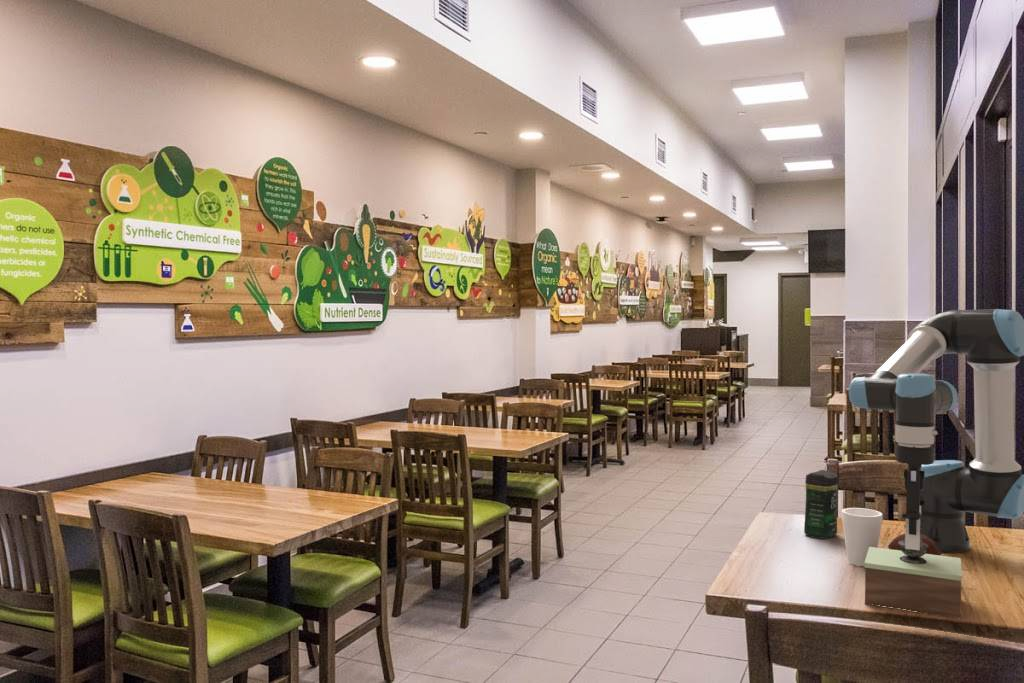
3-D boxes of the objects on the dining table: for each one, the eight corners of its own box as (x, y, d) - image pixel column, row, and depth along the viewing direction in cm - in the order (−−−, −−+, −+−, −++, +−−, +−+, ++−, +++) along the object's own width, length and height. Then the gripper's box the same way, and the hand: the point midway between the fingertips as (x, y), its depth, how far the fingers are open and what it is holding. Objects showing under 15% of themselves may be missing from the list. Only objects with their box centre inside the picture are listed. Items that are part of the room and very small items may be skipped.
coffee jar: (828, 541, 218) (829, 475, 218) (800, 535, 224) (801, 471, 223) (841, 534, 225) (842, 470, 225) (814, 529, 231) (814, 466, 230)
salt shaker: (927, 566, 167) (927, 510, 167) (896, 561, 170) (897, 507, 170) (929, 559, 172) (930, 505, 172) (899, 554, 175) (900, 501, 175)
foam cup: (885, 570, 193) (886, 517, 193) (846, 567, 195) (846, 515, 194) (876, 558, 202) (876, 508, 202) (838, 556, 204) (838, 507, 204)
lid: (962, 583, 161) (962, 576, 160) (864, 570, 169) (864, 562, 169) (960, 564, 174) (960, 556, 174) (869, 552, 183) (869, 545, 183)
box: (960, 619, 161) (961, 580, 161) (864, 604, 169) (865, 567, 169) (959, 598, 173) (959, 562, 173) (869, 585, 182) (870, 551, 181)
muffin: (916, 586, 181) (917, 543, 181) (877, 572, 191) (877, 531, 191) (952, 579, 186) (952, 538, 185) (911, 566, 196) (912, 527, 196)
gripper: (933, 454, 158) (932, 558, 158) (934, 438, 180) (933, 530, 180) (892, 451, 161) (891, 553, 162) (898, 436, 183) (896, 526, 184)
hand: (913, 541), depth 171 cm, fingers open, 13 cm apart
